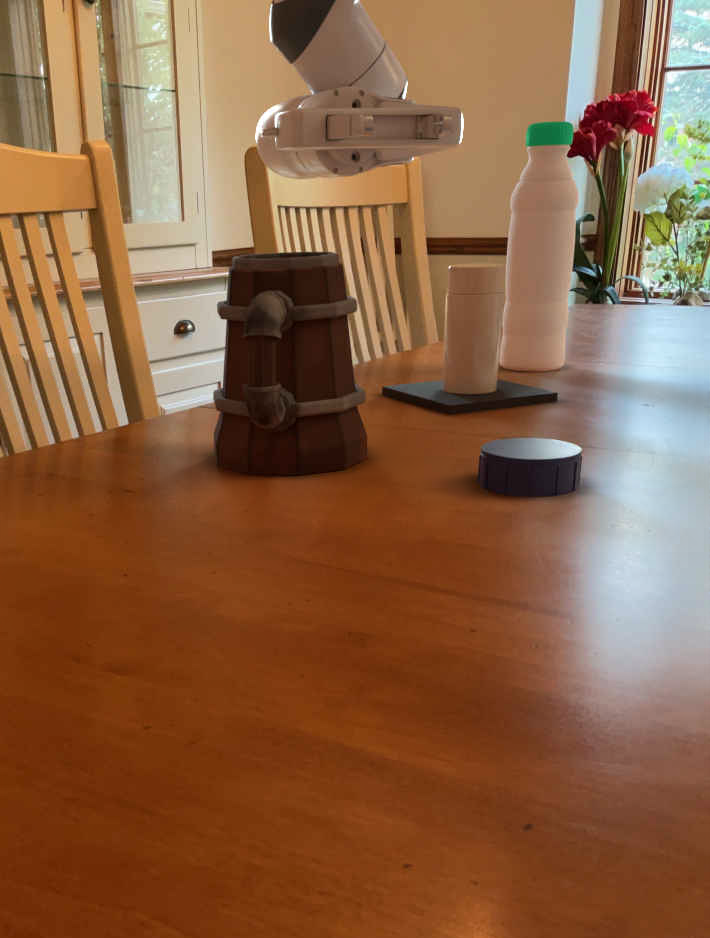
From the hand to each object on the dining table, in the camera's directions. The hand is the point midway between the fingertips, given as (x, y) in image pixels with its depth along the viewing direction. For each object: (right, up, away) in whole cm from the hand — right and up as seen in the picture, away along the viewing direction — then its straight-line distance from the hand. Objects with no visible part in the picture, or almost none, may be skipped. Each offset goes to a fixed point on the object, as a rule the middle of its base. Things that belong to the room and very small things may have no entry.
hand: (408, 124), depth 102 cm
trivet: (+6, -27, -1) cm, 28 cm away
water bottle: (+16, -20, +16) cm, 30 cm away
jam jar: (+6, -26, -1) cm, 27 cm away
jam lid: (+3, -38, -31) cm, 49 cm away
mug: (-13, -37, -23) cm, 46 cm away
